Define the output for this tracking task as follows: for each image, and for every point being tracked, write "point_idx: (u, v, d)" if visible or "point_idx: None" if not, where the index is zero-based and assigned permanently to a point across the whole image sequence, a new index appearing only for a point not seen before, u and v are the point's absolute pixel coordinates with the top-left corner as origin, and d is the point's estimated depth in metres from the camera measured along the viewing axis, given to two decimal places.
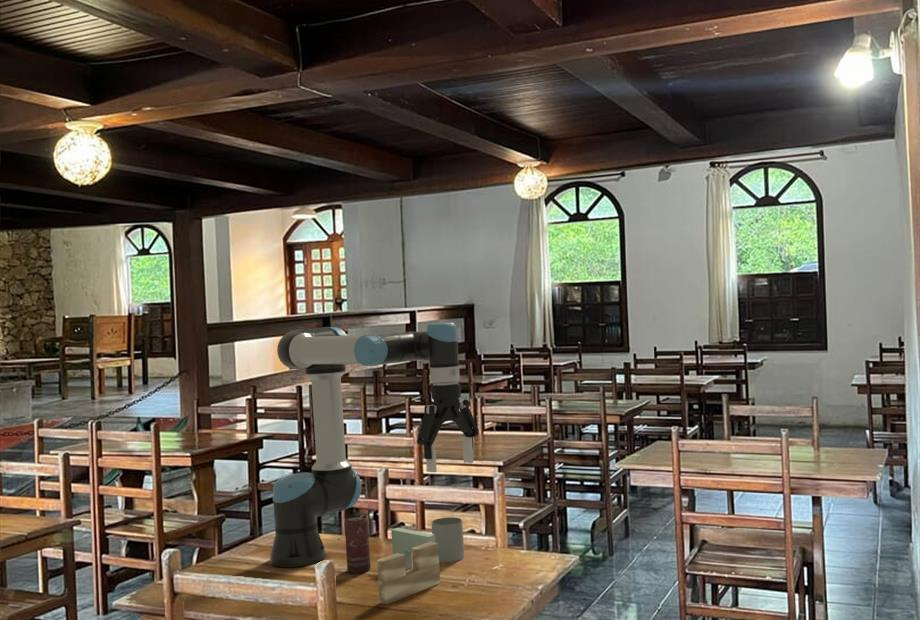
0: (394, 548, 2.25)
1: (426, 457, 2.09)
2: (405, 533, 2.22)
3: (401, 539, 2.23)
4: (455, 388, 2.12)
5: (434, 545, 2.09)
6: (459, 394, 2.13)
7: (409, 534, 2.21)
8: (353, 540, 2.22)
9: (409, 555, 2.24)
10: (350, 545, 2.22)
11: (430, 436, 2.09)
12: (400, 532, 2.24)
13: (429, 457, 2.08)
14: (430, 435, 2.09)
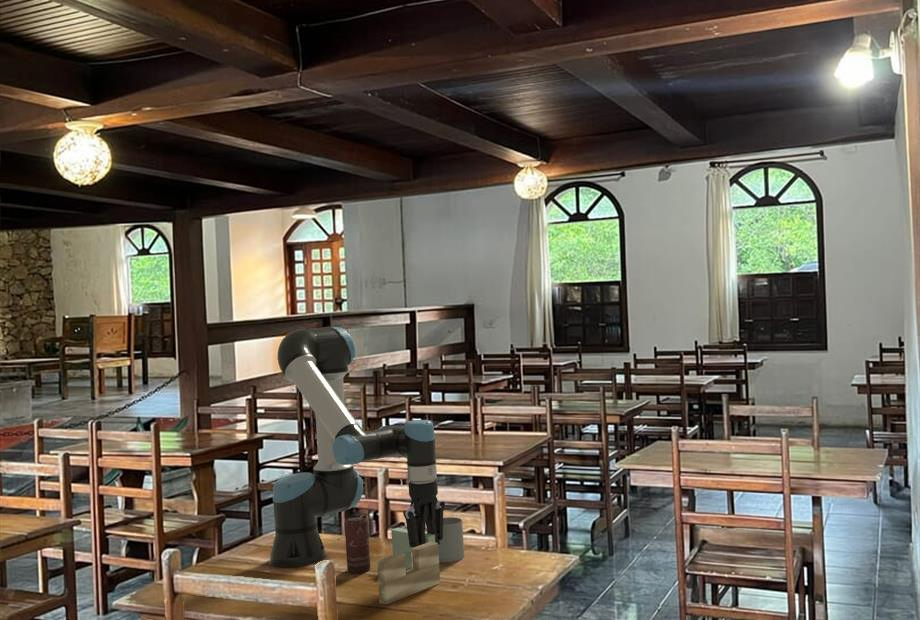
0: (394, 548, 2.25)
1: None
2: (405, 533, 2.22)
3: (401, 539, 2.23)
4: (431, 486, 2.16)
5: (434, 545, 2.09)
6: (436, 492, 2.17)
7: None
8: (353, 540, 2.22)
9: (409, 555, 2.24)
10: (350, 545, 2.22)
11: (419, 540, 2.16)
12: (400, 532, 2.24)
13: None
14: (419, 538, 2.16)
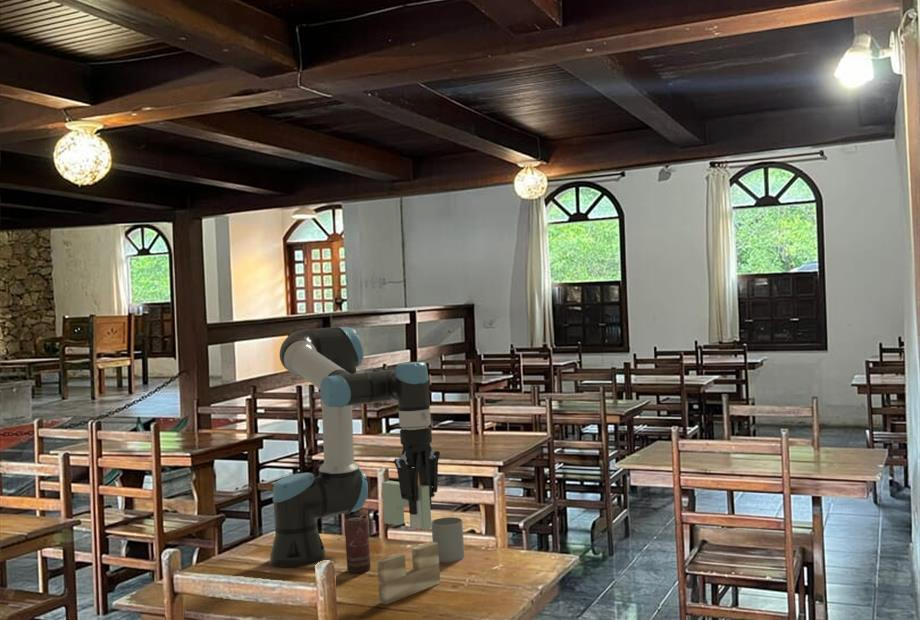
0: (385, 502, 2.08)
1: (411, 512, 1.99)
2: (397, 485, 2.05)
3: (393, 492, 2.06)
4: (425, 433, 1.98)
5: (434, 545, 2.09)
6: (430, 439, 2.00)
7: None
8: (353, 540, 2.22)
9: (401, 509, 2.06)
10: (350, 545, 2.22)
11: (412, 491, 1.99)
12: (391, 484, 2.06)
13: (414, 512, 1.99)
14: (412, 489, 1.99)
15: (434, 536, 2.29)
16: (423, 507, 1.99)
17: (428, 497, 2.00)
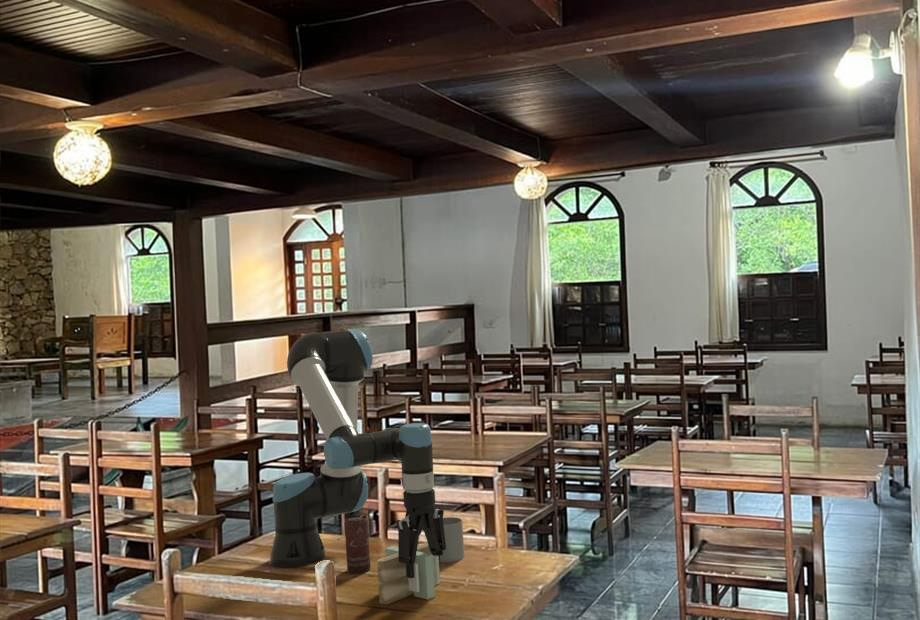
0: None
1: (408, 576, 1.97)
2: None
3: None
4: (428, 496, 1.98)
5: None
6: (433, 502, 1.99)
7: None
8: (353, 539, 2.22)
9: None
10: (350, 545, 2.22)
11: (410, 554, 1.97)
12: (394, 551, 2.06)
13: (411, 576, 1.97)
14: (410, 552, 1.97)
15: None
16: (427, 576, 1.99)
17: (432, 566, 2.00)
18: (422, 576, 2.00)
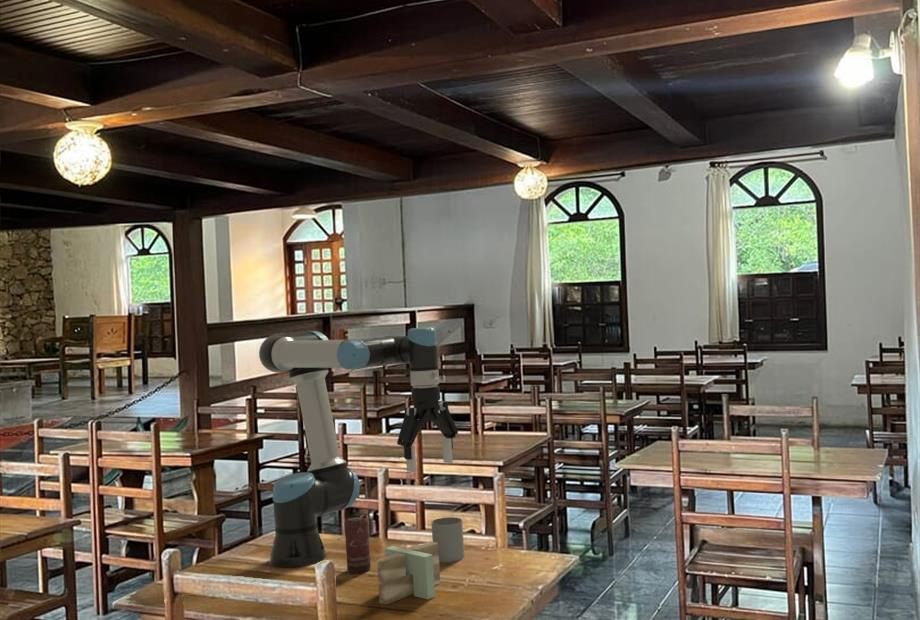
0: None
1: (406, 457, 2.16)
2: (401, 552, 2.04)
3: None
4: (434, 391, 2.19)
5: (434, 545, 2.09)
6: (438, 397, 2.21)
7: (405, 554, 2.03)
8: (353, 539, 2.22)
9: None
10: (350, 545, 2.22)
11: (410, 437, 2.17)
12: (394, 551, 2.06)
13: (409, 457, 2.16)
14: (410, 436, 2.17)
15: (434, 536, 2.29)
16: (427, 576, 1.99)
17: (432, 566, 2.00)
18: (422, 576, 2.00)
